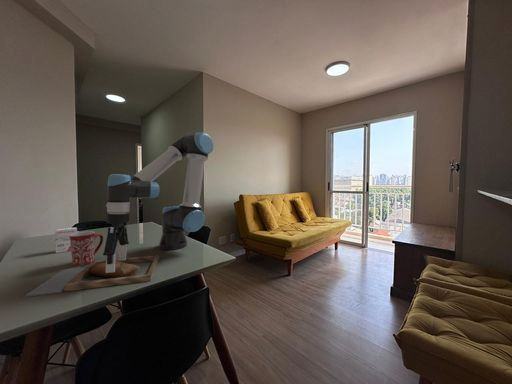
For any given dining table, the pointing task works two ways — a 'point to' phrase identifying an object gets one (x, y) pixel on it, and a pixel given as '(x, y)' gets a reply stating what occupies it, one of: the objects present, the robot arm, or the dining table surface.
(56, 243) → the ink box
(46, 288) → the felt pad
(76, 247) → the mug
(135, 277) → the open square wooden frame
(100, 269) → the sunglasses case
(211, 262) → the dining table surface
